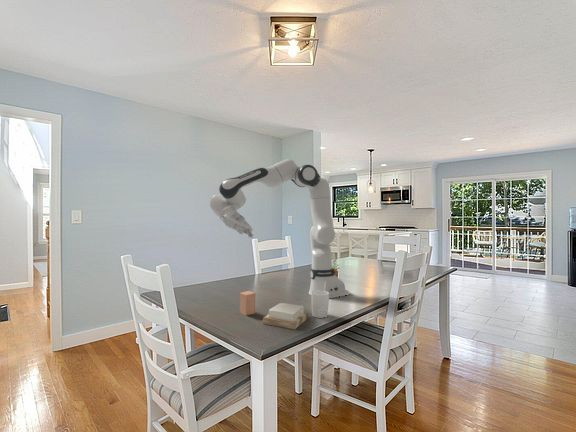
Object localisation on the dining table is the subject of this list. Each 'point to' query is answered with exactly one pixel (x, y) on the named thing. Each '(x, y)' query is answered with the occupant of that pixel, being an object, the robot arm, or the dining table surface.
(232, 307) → the dining table surface
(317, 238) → the robot arm
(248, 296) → the terracotta pillar
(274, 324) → the oak slab
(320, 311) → the white cup
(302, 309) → the cream slab
